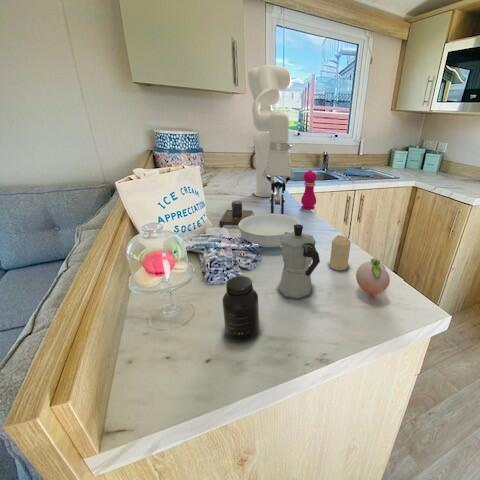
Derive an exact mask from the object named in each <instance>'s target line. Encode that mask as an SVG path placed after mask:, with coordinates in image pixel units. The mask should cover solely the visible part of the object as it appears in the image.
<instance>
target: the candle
mask: <svg viewBox="0 0 480 480" xmlns="http://www.w3.org/2000/svg"><path fill="white" fill-rule="evenodd" d="M330 248H331V249H330V258H329V267H330V268H331V269H333V270H335V271H344V270H347V268H348V264H349V258H350V252H351V240H350V239H349V238H348V236H343V235H340V234H338V235H336V236H335V237H334V238H332V240H331V247H330Z"/></svg>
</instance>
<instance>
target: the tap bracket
mask: <svg viewBox="0 0 480 480" xmlns="http://www.w3.org/2000/svg"><path fill="white" fill-rule="evenodd" d="M269 202H270V213H272V214H275V196H274V194H271V197H269ZM285 203H286V198H285V194H281V195H280V214H282V215H285V213H284V212H285Z"/></svg>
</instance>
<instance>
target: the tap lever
mask: <svg viewBox="0 0 480 480" xmlns="http://www.w3.org/2000/svg"><path fill="white" fill-rule="evenodd" d="M274 182H275V189H276V192H277V194H276V196H274V206H281V195H280V190H281V189H282V183H283V182H281V181H280V180H277V181H274Z"/></svg>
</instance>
